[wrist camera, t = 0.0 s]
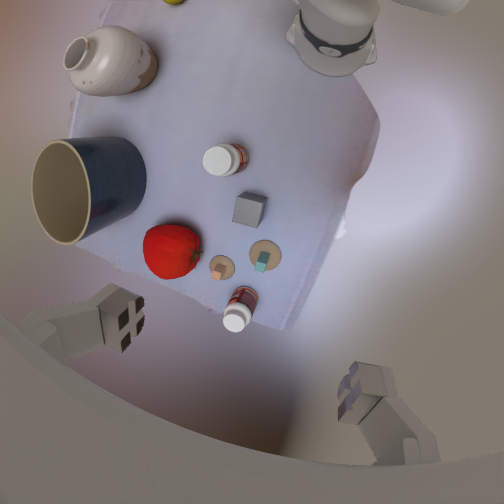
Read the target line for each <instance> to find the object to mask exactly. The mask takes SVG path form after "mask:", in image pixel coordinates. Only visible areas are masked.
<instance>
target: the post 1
mask: <svg viewBox="0 0 504 504" xmlns="http://www.w3.org/2000/svg"><path fill="white" fill-rule="evenodd" d="M210 271H211V273H212V277H211V278H212V279H216V280H219V281H220V280H226V279H229V278H230V277H231V276H232V275H233V274H234V271H235V267H234V264H233V262H232V261H231V259H229V258H228V257H226V256H222V255H219V256H216V257H214V258H213V259H212V260H211V262H210Z"/></svg>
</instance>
